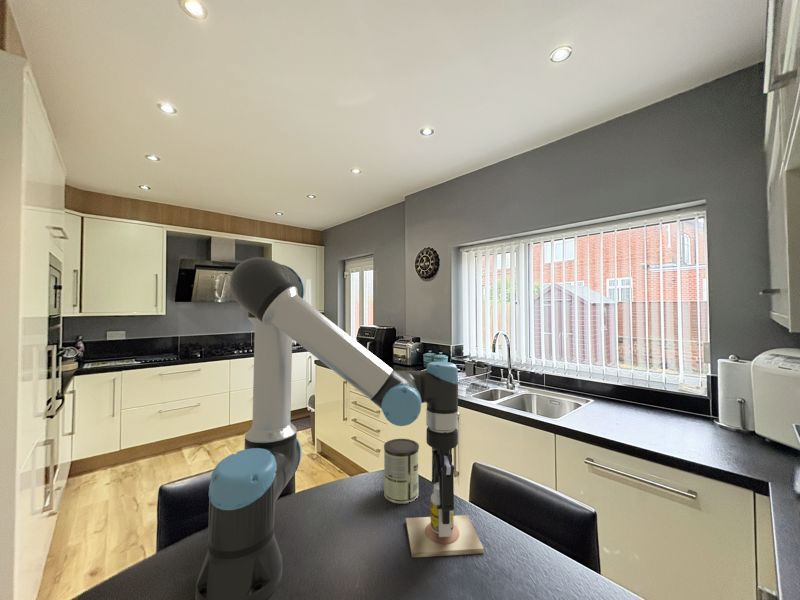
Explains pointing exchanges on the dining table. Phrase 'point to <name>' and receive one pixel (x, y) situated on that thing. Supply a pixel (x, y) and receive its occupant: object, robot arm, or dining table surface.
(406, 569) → the dining table surface
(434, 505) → the supplement bottle
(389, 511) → the dining table surface
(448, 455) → the robot arm
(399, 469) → the coffee can
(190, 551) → the dining table surface
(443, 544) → the board
